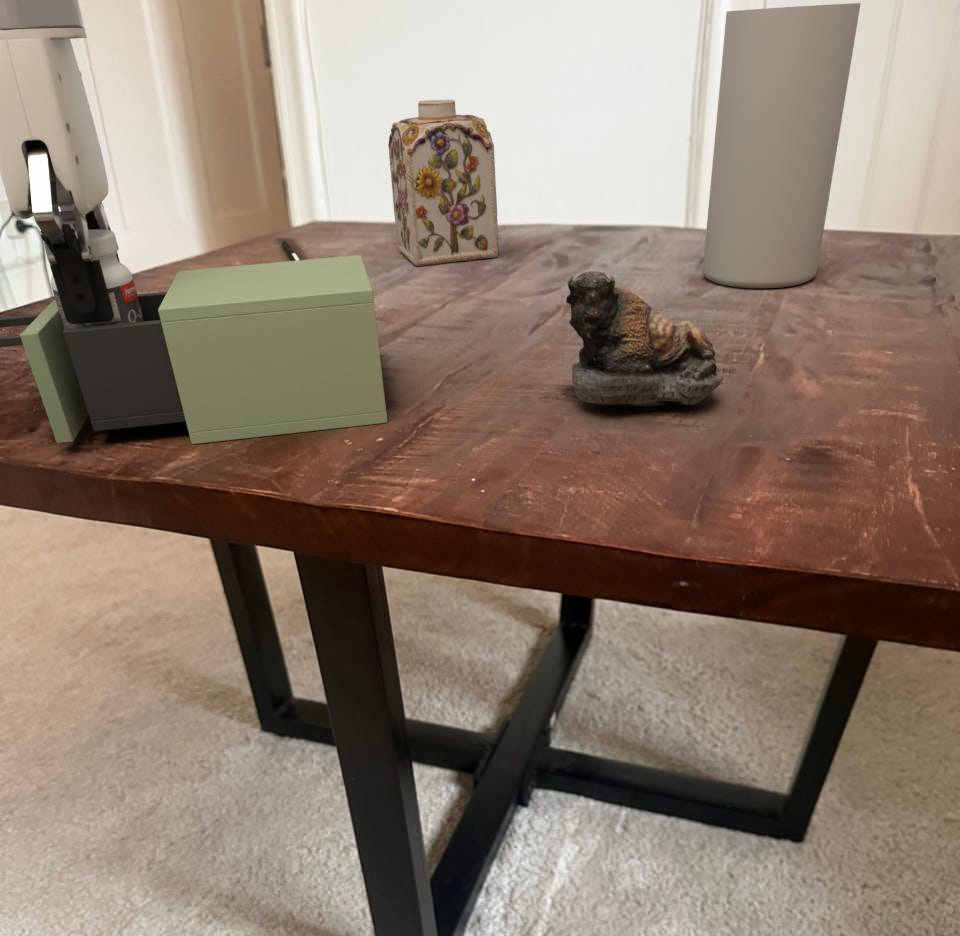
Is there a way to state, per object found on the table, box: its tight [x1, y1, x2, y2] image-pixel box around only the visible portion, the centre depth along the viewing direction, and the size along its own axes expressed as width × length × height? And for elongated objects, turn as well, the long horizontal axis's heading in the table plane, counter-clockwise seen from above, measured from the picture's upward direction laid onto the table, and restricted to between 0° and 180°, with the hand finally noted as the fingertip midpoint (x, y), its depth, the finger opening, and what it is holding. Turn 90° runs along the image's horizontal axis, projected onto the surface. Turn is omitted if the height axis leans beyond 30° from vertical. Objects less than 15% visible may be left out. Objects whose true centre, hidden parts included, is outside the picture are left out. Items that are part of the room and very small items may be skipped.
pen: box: [281, 240, 300, 261], centre depth 121 cm, size 1×19×1 cm, turn 17°
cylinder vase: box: [702, 2, 861, 289], centre depth 92 cm, size 12×12×25 cm
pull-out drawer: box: [0, 291, 186, 444], centre depth 67 cm, size 19×12×8 cm, turn 100°
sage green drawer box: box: [158, 254, 388, 445], centre depth 69 cm, size 15×13×10 cm
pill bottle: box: [50, 230, 144, 330], centre depth 65 cm, size 6×6×10 cm
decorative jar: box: [387, 99, 499, 267], centre depth 113 cm, size 12×12×18 cm
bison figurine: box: [565, 270, 724, 408], centre depth 64 cm, size 12×7×10 cm, turn 97°
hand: (99, 307), depth 65 cm, fingers closed on pill bottle, 5 cm apart
